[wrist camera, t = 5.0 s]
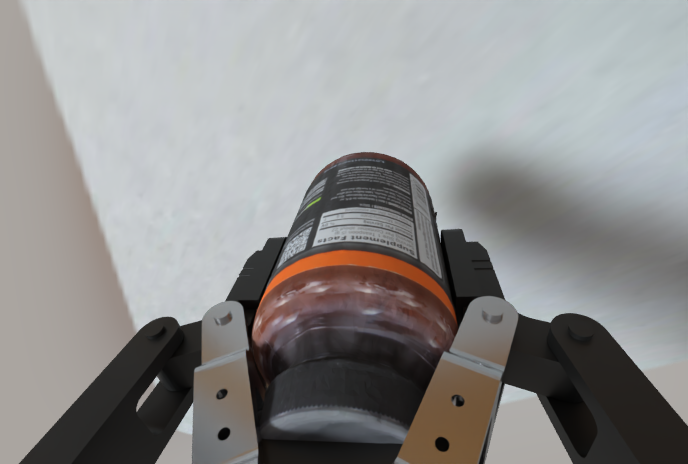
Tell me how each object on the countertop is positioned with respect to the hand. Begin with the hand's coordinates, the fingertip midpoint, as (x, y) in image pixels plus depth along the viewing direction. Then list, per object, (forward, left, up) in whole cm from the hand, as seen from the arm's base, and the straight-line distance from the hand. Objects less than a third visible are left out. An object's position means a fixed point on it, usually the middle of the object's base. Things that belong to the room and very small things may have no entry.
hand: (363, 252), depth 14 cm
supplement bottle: (0, 0, -4) cm, 4 cm away
